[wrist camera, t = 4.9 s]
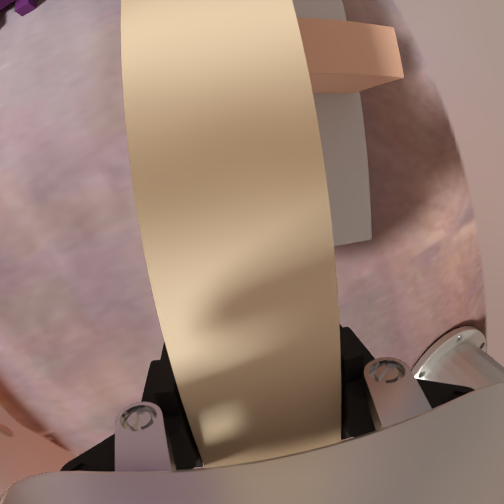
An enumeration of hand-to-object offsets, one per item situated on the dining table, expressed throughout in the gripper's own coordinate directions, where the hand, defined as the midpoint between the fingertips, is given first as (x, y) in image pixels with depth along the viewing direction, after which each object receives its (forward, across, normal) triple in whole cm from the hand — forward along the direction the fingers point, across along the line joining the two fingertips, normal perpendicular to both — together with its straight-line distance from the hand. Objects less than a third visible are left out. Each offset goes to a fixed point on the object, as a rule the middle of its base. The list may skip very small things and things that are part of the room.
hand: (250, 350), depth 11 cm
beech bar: (+3, 0, -6) cm, 6 cm away
